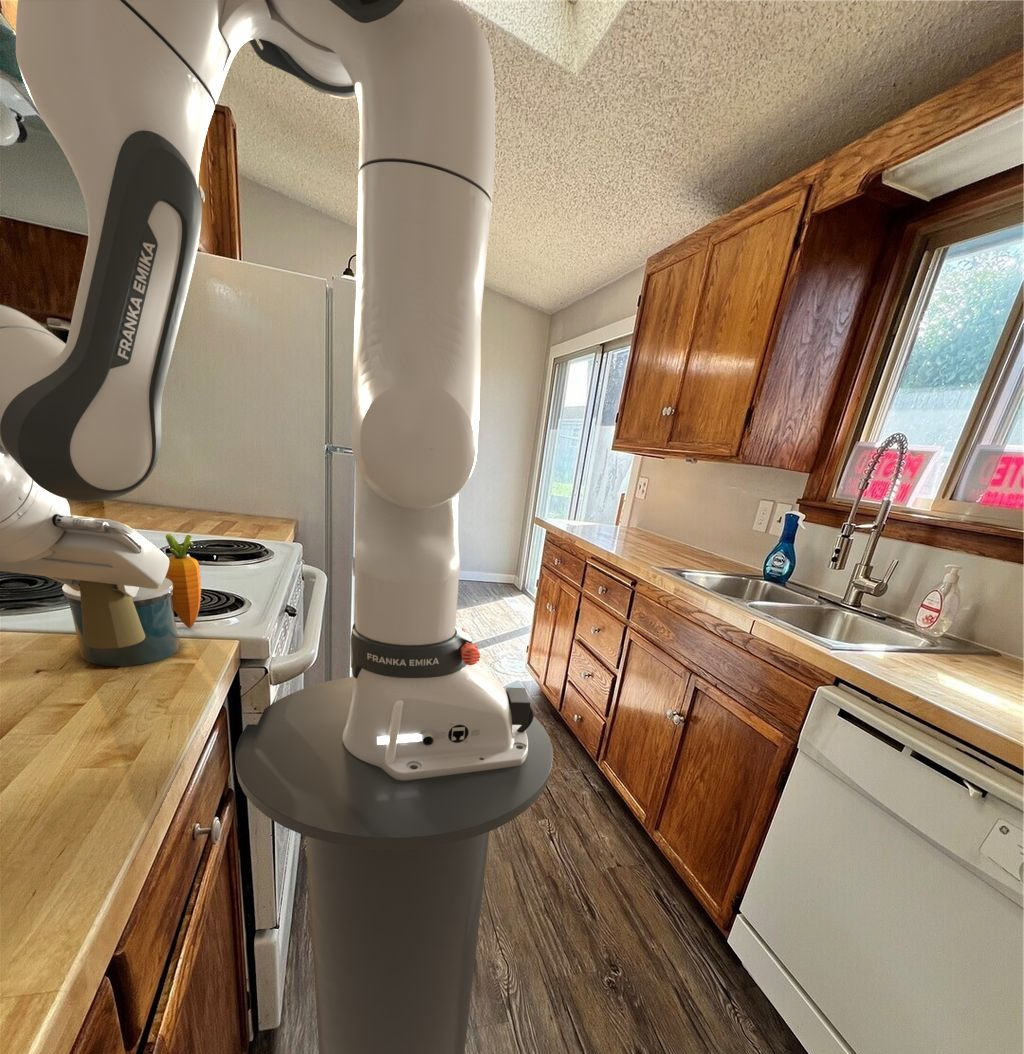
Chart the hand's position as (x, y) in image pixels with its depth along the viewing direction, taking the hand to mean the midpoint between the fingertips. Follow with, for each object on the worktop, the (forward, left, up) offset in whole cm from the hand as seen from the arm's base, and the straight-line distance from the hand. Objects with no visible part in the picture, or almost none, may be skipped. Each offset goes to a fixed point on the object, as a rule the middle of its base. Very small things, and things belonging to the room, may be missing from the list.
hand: (108, 588), depth 64 cm
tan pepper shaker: (0, +1, -6) cm, 6 cm away
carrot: (0, -22, -13) cm, 26 cm away
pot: (+4, -12, -13) cm, 18 cm away
